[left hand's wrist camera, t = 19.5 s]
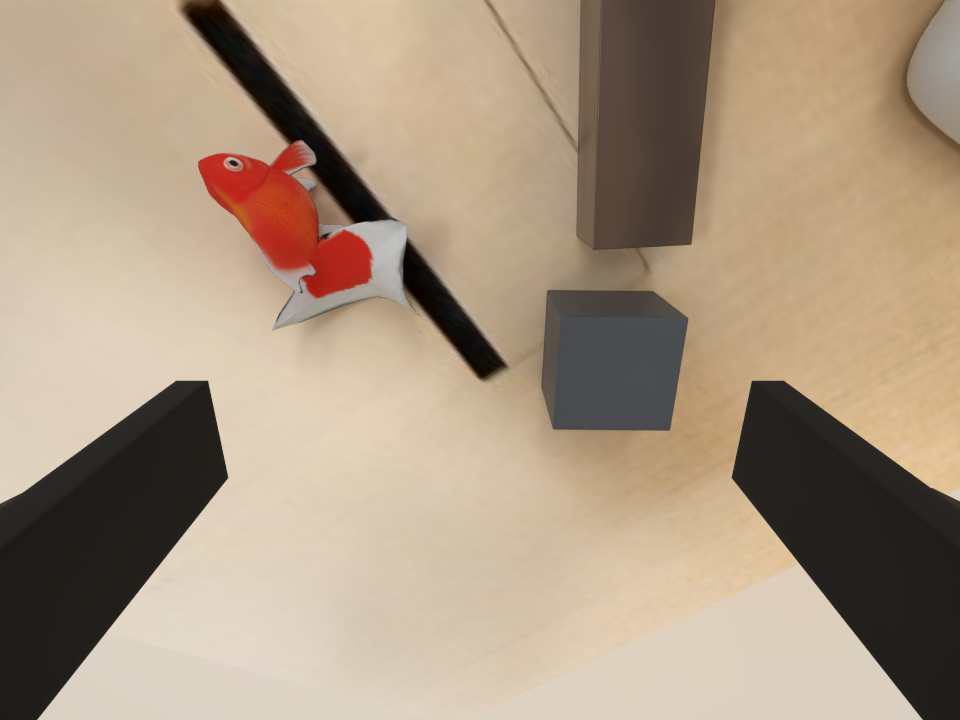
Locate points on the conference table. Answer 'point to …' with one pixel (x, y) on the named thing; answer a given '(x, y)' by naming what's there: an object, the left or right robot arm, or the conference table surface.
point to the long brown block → (641, 120)
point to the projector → (939, 70)
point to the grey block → (611, 360)
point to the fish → (307, 235)
